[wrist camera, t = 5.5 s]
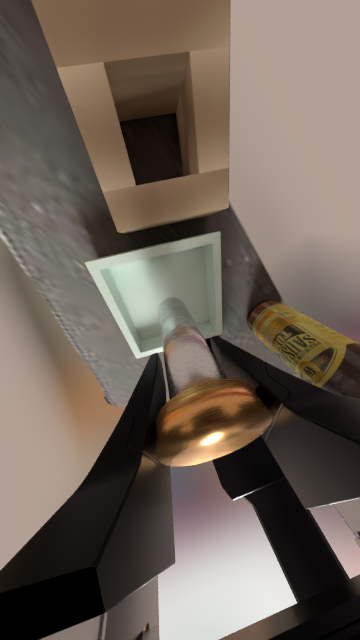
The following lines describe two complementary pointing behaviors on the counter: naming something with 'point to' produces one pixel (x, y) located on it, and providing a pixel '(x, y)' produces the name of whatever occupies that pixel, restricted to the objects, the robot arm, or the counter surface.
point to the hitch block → (147, 96)
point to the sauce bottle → (309, 348)
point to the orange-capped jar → (201, 397)
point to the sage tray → (162, 287)
